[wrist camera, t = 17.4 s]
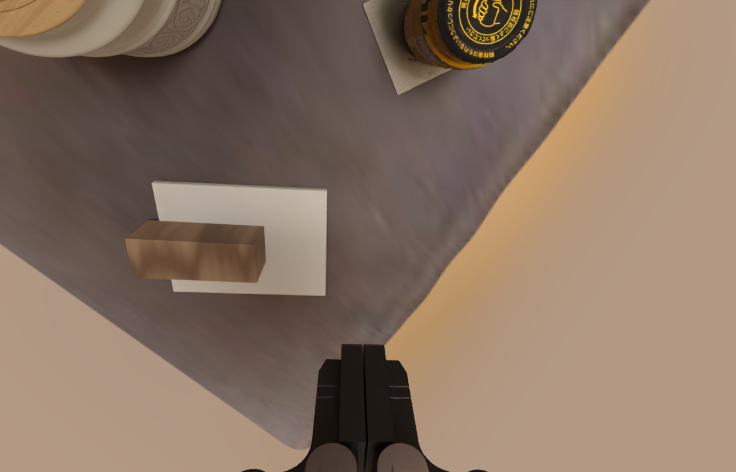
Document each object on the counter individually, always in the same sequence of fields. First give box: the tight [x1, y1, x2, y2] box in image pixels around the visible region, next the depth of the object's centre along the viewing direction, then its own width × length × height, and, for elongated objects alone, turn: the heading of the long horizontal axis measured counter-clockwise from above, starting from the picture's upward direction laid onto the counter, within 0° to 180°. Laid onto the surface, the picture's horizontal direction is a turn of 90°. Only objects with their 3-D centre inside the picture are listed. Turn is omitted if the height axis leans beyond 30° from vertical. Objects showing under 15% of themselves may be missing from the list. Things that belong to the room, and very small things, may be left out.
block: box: [125, 220, 266, 283], centre depth 35 cm, size 4×4×11 cm
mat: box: [152, 181, 327, 296], centre depth 37 cm, size 12×16×1 cm
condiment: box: [363, 0, 537, 95], centre depth 24 cm, size 7×8×12 cm
